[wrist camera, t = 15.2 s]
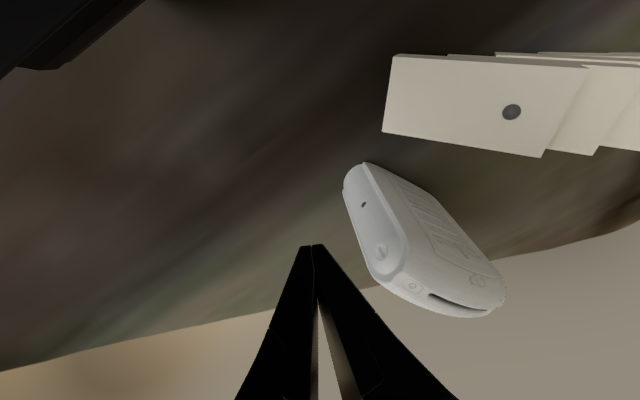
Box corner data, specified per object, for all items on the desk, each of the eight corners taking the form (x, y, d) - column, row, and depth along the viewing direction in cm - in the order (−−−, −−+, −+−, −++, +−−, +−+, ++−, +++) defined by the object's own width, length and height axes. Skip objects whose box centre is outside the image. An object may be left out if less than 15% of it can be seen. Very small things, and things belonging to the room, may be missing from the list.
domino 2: (446, 57, 17) (651, 68, 13) (448, 53, 18) (633, 63, 15) (427, 130, 20) (592, 155, 16) (430, 122, 21) (582, 144, 18)
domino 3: (496, 54, 17) (708, 65, 14) (494, 51, 19) (685, 61, 15) (471, 127, 20) (641, 151, 17) (471, 119, 22) (627, 140, 18)
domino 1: (392, 56, 16) (590, 69, 13) (399, 53, 18) (578, 63, 15) (381, 132, 19) (540, 159, 16) (388, 123, 21) (534, 146, 17)
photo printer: (332, 190, 24) (371, 313, 14) (359, 152, 22) (425, 263, 12) (411, 224, 28) (485, 339, 18) (439, 195, 26) (539, 305, 16)
